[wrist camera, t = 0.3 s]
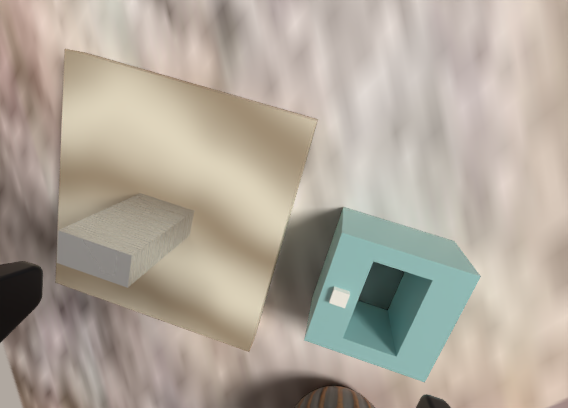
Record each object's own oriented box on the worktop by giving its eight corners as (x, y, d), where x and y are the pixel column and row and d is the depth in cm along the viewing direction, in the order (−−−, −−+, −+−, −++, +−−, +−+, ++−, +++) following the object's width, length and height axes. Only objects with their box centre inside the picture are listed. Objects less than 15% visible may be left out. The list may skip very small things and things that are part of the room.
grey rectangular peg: (189, 235, 20) (127, 287, 14) (137, 217, 20) (56, 262, 15) (194, 210, 20) (131, 255, 14) (140, 193, 20) (58, 230, 14)
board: (255, 336, 23) (249, 351, 22) (72, 272, 24) (55, 282, 23) (318, 119, 18) (315, 120, 17) (85, 52, 20) (64, 48, 18)
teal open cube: (411, 331, 21) (426, 387, 17) (311, 298, 22) (303, 344, 18) (454, 241, 19) (483, 279, 15) (343, 206, 19) (342, 235, 15)
